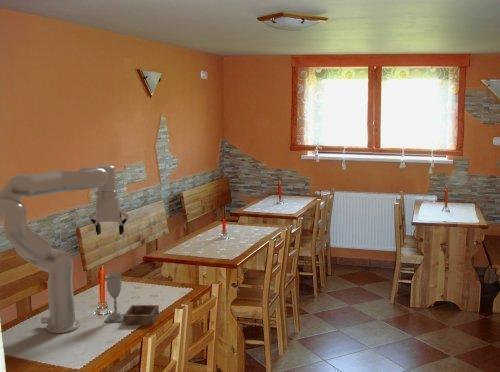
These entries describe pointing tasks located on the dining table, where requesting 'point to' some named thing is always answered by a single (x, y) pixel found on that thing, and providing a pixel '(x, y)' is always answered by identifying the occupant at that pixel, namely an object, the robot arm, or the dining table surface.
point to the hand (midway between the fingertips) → (110, 234)
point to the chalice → (114, 291)
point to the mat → (114, 320)
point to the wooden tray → (141, 315)
